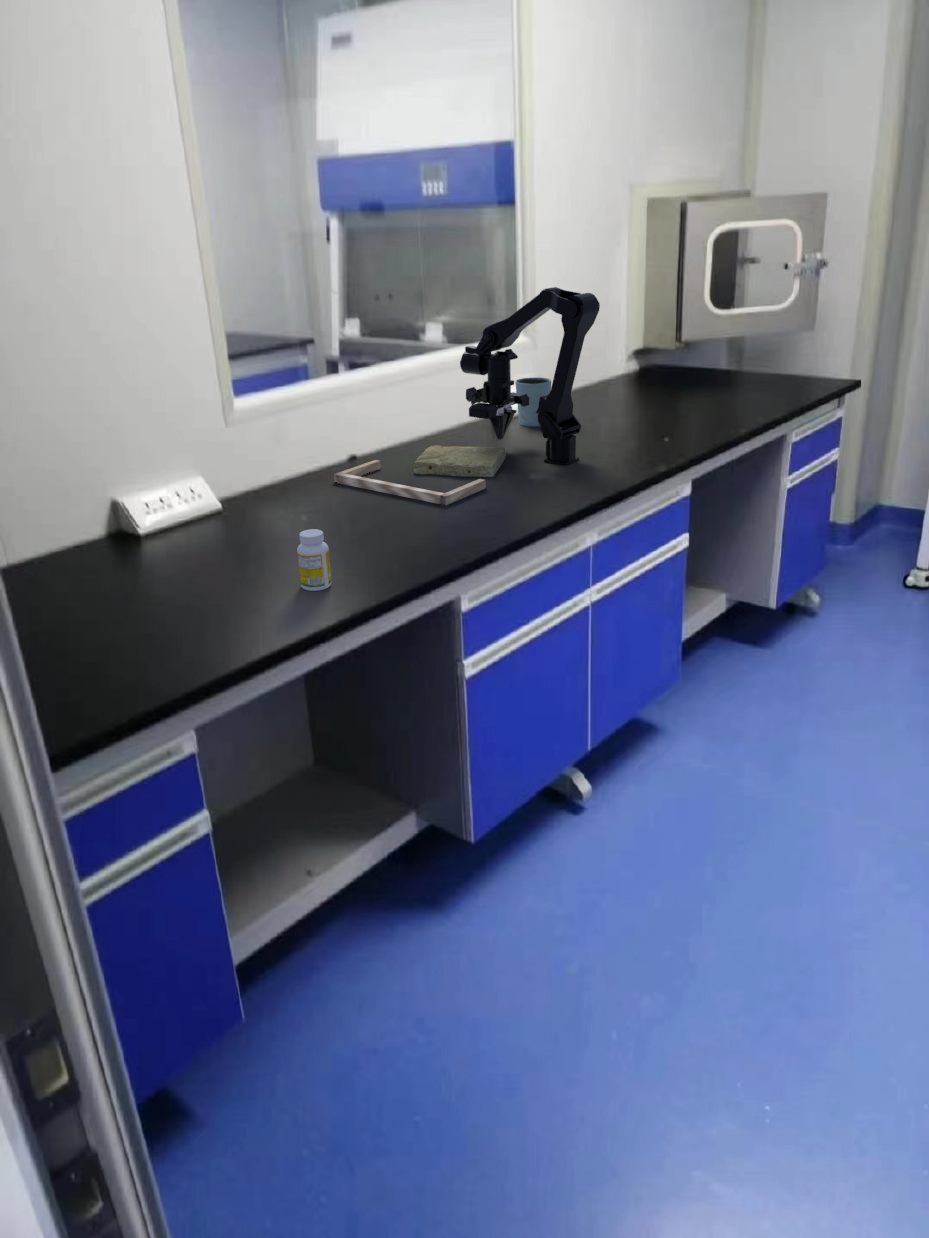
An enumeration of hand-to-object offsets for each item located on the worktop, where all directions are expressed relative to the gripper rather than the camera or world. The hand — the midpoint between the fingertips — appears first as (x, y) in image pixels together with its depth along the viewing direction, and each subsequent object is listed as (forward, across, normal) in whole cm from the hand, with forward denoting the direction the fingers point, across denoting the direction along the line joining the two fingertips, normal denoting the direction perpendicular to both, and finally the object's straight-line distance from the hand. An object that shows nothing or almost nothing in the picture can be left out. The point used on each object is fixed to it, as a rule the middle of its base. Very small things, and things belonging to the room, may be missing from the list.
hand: (500, 439), depth 238 cm
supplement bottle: (+3, +90, +25) cm, 93 cm away
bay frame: (+3, +36, 0) cm, 36 cm away
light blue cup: (+3, -29, -9) cm, 31 cm away
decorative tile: (+4, +17, 0) cm, 17 cm away
